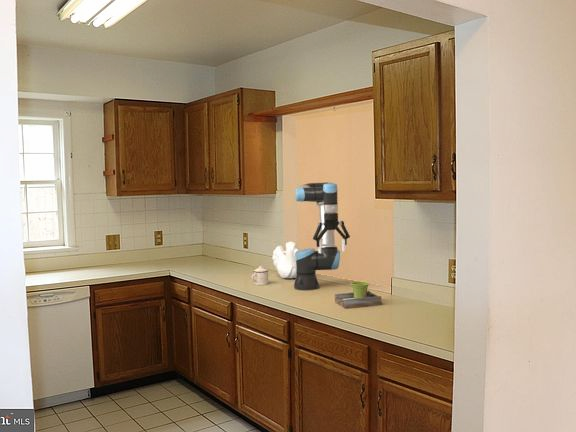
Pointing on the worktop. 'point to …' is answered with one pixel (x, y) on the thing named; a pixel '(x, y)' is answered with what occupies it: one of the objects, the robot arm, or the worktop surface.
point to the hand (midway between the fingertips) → (331, 252)
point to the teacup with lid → (260, 276)
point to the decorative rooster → (286, 260)
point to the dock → (357, 300)
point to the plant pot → (359, 289)
